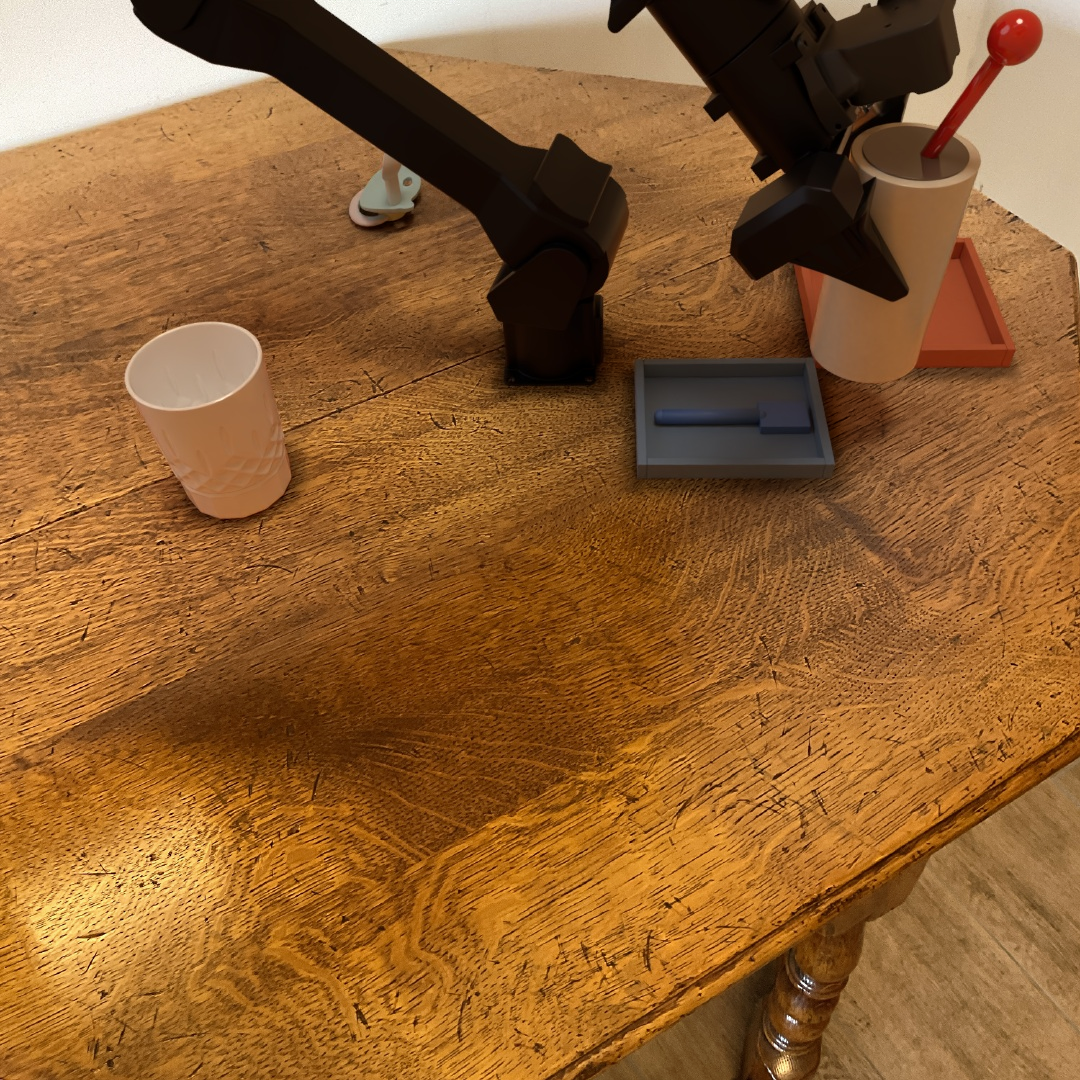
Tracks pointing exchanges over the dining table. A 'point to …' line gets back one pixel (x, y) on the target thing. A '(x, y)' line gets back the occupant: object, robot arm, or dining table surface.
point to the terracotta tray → (945, 315)
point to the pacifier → (386, 194)
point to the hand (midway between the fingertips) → (912, 262)
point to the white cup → (213, 416)
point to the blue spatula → (746, 417)
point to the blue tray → (728, 444)
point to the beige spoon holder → (912, 222)
